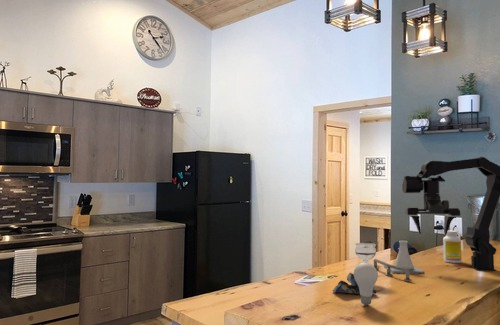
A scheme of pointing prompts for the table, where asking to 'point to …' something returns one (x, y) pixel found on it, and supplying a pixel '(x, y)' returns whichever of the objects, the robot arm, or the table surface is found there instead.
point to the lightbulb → (365, 281)
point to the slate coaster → (412, 271)
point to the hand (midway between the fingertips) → (432, 234)
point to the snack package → (349, 286)
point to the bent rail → (392, 267)
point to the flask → (404, 257)
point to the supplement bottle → (452, 247)
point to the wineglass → (365, 251)
